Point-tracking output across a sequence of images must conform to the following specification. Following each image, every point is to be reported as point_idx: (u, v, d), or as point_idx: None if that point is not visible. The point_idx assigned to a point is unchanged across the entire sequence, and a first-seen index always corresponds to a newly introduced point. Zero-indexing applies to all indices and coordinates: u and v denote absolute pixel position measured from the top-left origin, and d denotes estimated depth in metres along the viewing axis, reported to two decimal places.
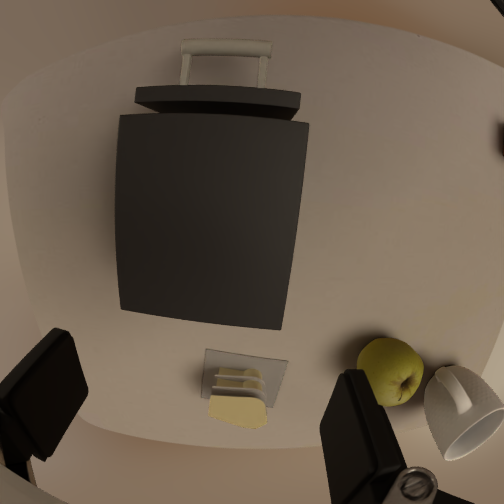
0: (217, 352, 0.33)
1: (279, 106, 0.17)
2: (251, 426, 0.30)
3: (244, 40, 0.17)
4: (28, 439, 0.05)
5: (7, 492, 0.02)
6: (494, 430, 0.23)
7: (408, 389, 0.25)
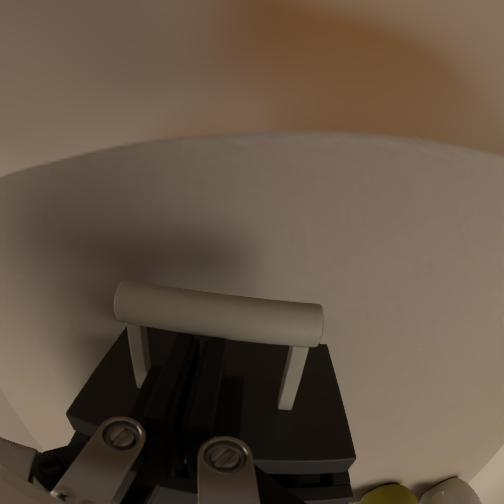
0: None
1: None
2: None
3: (257, 317, 0.09)
4: (170, 457, 0.06)
5: (7, 492, 0.02)
6: None
7: None
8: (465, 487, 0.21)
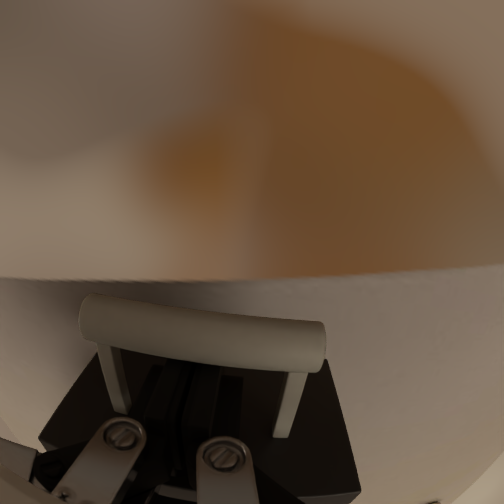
0: None
1: None
2: None
3: (245, 340, 0.07)
4: (171, 457, 0.06)
5: (7, 492, 0.02)
6: None
7: None
8: None
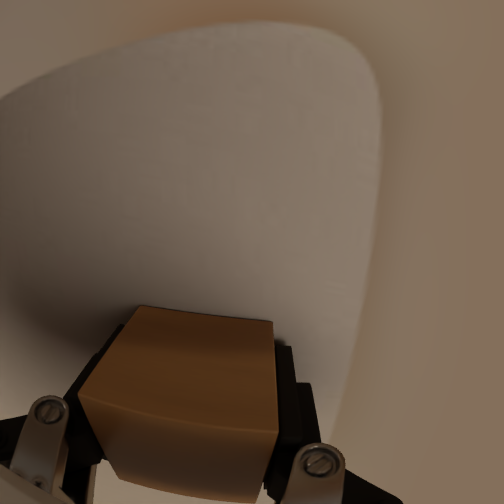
0: None
1: None
2: None
3: None
4: None
5: (7, 491, 0.02)
6: None
7: None
8: None
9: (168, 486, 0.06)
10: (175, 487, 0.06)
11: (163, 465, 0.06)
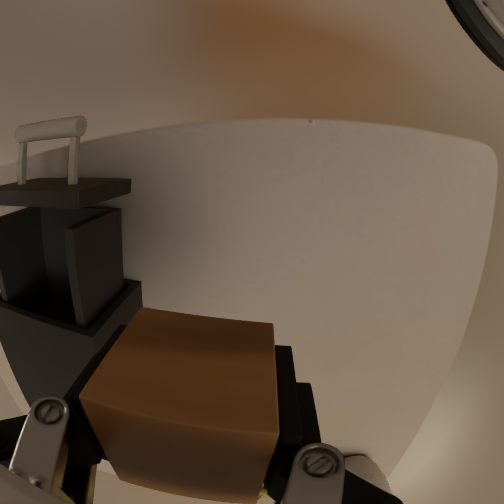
0: None
1: (64, 208, 0.15)
2: None
3: (56, 121, 0.15)
4: None
5: (7, 491, 0.02)
6: None
7: None
8: (369, 466, 0.30)
9: (169, 486, 0.06)
10: (176, 488, 0.06)
11: (163, 466, 0.06)
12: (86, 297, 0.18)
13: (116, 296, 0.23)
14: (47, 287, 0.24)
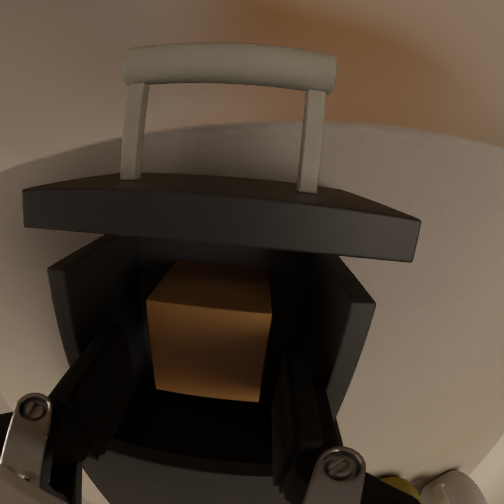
0: None
1: None
2: None
3: (270, 47, 0.07)
4: (85, 439, 0.06)
5: (7, 492, 0.02)
6: None
7: None
8: (465, 479, 0.22)
9: (195, 385, 0.11)
10: (200, 386, 0.11)
11: (196, 358, 0.10)
12: None
13: None
14: (147, 364, 0.16)
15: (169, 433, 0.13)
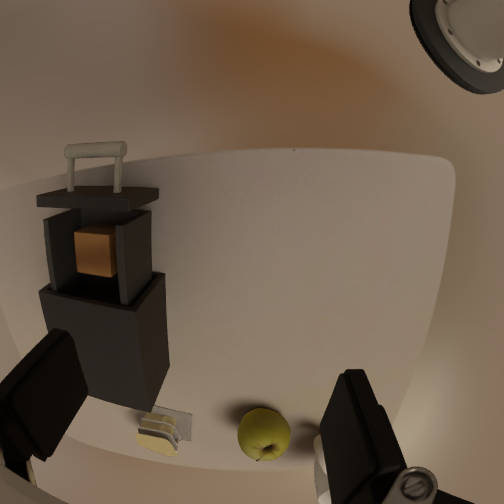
0: None
1: (116, 210, 0.23)
2: (167, 454, 0.38)
3: (102, 144, 0.23)
4: (28, 439, 0.05)
5: (7, 492, 0.02)
6: None
7: (271, 452, 0.34)
8: None
9: (89, 268, 0.27)
10: (91, 268, 0.27)
11: (88, 254, 0.26)
12: (128, 276, 0.26)
13: (146, 279, 0.31)
14: (84, 275, 0.32)
15: None
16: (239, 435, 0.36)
